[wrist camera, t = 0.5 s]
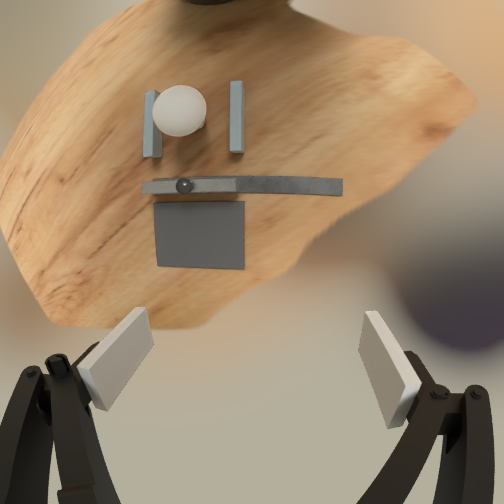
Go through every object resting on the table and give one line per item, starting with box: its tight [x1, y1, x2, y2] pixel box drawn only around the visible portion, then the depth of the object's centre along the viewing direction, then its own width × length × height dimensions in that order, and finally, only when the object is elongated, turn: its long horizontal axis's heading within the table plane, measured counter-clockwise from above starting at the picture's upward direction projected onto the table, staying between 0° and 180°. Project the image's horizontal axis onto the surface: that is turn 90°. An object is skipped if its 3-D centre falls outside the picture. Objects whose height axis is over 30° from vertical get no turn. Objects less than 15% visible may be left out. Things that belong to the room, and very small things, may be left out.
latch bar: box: [142, 178, 241, 194], centre depth 36 cm, size 2×13×6 cm, turn 90°
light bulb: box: [152, 85, 207, 137], centre depth 32 cm, size 7×7×11 cm
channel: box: [143, 80, 245, 158], centre depth 35 cm, size 10×14×4 cm
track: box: [153, 176, 343, 196], centre depth 39 cm, size 2×28×1 cm, turn 90°
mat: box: [153, 202, 244, 269], centre depth 41 cm, size 10×14×1 cm
